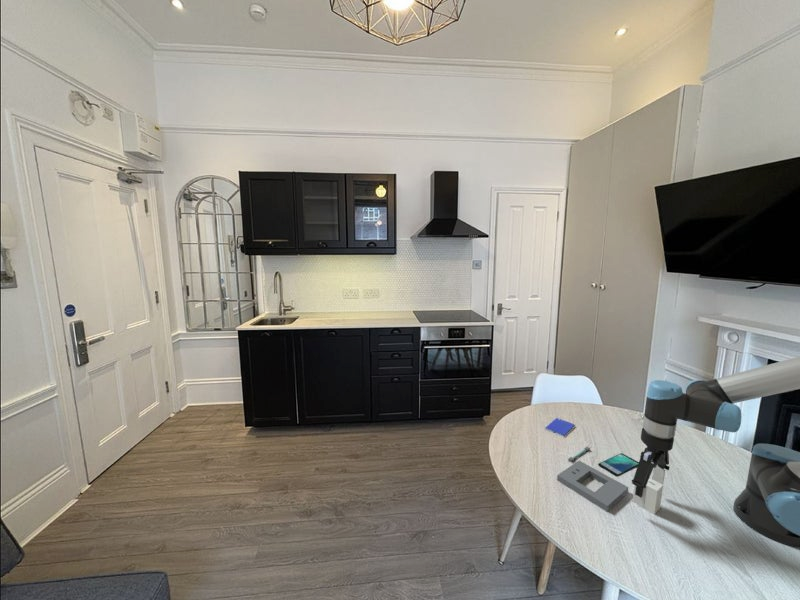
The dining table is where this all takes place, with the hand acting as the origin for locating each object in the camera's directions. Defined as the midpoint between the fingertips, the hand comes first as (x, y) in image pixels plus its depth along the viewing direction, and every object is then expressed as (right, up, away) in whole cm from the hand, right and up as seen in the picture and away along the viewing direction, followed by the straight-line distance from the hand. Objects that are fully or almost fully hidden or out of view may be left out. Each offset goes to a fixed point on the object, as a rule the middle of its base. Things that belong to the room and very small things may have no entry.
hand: (647, 494), depth 98 cm
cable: (-7, 0, +25) cm, 26 cm away
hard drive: (-5, +2, +44) cm, 44 cm away
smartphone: (+5, -1, +20) cm, 20 cm away
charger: (0, -4, 0) cm, 4 cm away
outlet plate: (-12, -3, +9) cm, 15 cm away
